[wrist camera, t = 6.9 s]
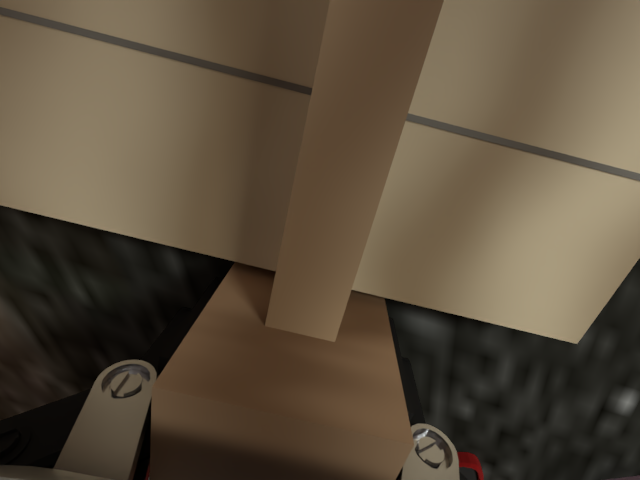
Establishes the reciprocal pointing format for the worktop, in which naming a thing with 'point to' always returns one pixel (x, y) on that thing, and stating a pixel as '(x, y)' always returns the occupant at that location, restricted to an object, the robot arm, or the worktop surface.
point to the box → (627, 478)
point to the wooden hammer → (308, 291)
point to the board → (287, 132)
